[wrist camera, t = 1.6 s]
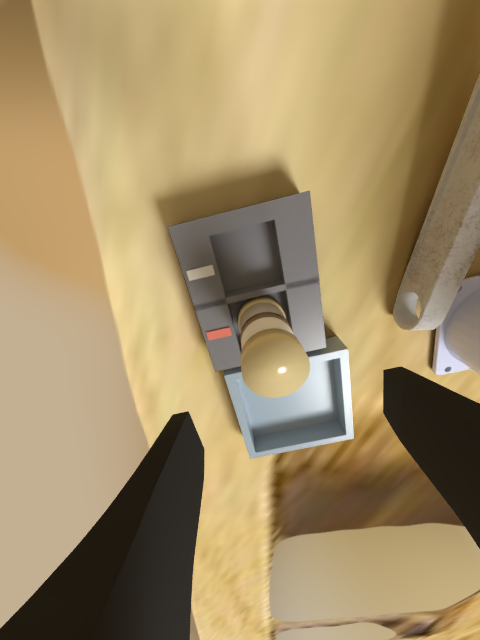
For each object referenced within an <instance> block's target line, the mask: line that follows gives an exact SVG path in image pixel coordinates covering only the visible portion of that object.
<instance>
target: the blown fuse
mask: <svg viewBox="0 0 480 640" xmlns="http://www.w3.org/2000/svg"><path fill="white" fill-rule="evenodd" d="M238 328H239V331H240V341H241V348H242V351H241V371H242V378H243V381H244V383H245V384H246V386H247V387H248V388H249V389H250V390H251V391H252V392H254V393H256V394H258V395H260V396H263V397H269V398H277V397H283V396H286V395H289V394H291V393H293V392H295V391H296V390H298V389H299V388H300V387H301V386H302V385H303V384H304V382H305V381H306V379H307V378H308V375H309V372H310V362H309V358H308V356H307V354H306V352H305V350H304V348H303V346H302V345H301V343H300V341H299V340H298V338H297V337H296V336H295V335H294V334H293V331H292V329H291V327H290V325H289V323H288V322H287V320H286V316H285V313H284V311H283V309H282V308H281V306H280V304H279V303H278V302H277V301H276V300H275V299H274V298H272V297H270V296H267V295H263V296H259V297H254V298H250V299H247V300H246V301H244V303H243V304H242V305H241V306H240V308H239V311H238Z"/></svg>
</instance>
